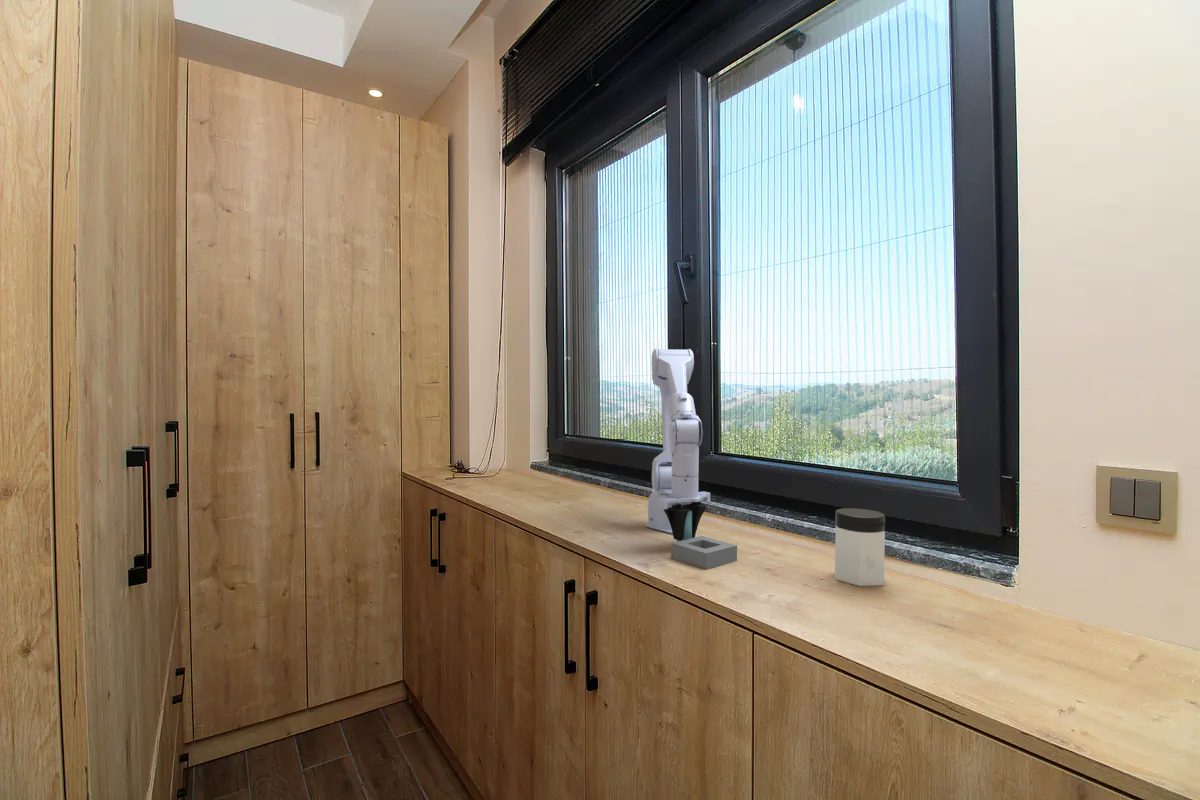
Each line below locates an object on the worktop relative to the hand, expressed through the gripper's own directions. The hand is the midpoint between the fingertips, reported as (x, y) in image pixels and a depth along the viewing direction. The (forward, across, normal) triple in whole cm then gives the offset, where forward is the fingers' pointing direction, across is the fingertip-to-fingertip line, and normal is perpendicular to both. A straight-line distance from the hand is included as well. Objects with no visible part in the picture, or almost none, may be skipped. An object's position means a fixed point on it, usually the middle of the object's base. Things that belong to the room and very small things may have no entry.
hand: (684, 538), depth 121 cm
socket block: (+2, -3, -8) cm, 9 cm away
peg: (+2, 0, 0) cm, 2 cm away
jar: (+2, +10, -33) cm, 35 cm away
